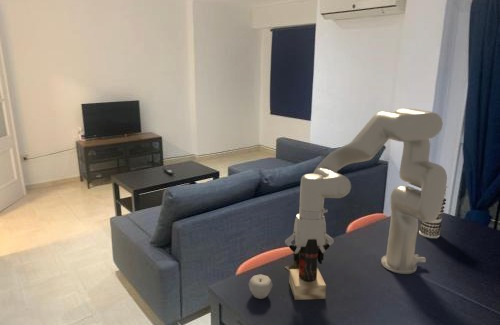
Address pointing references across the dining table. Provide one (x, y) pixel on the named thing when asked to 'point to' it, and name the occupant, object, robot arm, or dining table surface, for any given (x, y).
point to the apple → (260, 286)
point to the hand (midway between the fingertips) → (308, 261)
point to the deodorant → (309, 261)
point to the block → (306, 286)
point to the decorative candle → (432, 224)
